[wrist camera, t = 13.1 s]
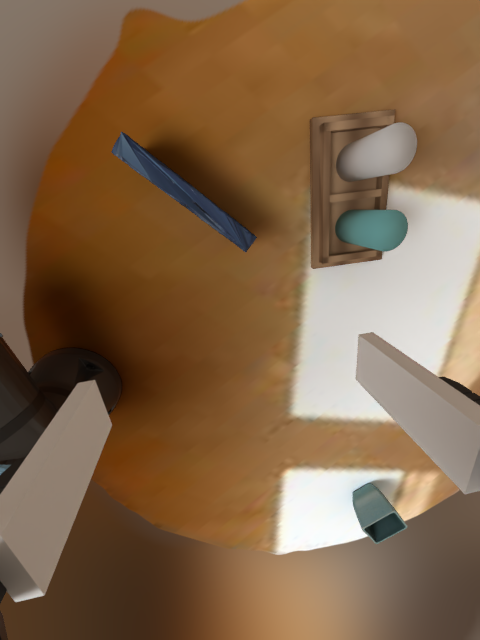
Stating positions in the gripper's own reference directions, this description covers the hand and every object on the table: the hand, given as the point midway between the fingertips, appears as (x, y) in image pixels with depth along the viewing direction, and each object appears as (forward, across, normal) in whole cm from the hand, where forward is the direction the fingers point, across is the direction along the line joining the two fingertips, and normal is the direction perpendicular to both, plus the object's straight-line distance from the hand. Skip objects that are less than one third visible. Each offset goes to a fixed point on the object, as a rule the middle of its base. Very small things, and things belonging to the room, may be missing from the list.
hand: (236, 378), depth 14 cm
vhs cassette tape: (+33, -1, +10) cm, 35 cm away
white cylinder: (+31, +23, +12) cm, 41 cm away
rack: (+32, +23, +8) cm, 40 cm away
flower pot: (+33, +31, -64) cm, 79 cm away
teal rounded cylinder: (+31, +23, +3) cm, 39 cm away
